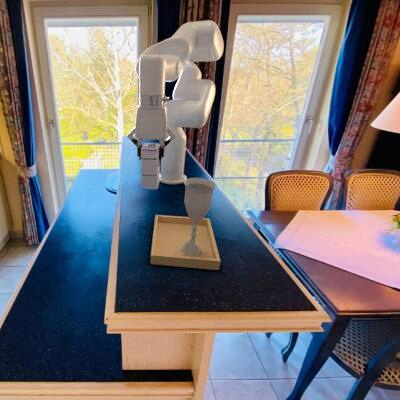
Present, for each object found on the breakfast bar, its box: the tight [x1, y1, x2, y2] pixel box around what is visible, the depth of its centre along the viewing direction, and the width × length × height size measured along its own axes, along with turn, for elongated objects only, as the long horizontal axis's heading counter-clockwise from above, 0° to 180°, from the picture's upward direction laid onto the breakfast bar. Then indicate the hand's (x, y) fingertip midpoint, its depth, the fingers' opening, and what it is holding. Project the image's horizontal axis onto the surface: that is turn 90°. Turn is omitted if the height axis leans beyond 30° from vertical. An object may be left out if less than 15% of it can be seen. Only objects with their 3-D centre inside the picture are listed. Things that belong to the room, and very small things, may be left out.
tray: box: [150, 214, 221, 271], centre depth 69 cm, size 20×16×3 cm
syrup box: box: [140, 142, 161, 190], centre depth 89 cm, size 6×6×14 cm
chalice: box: [182, 177, 217, 257], centre depth 62 cm, size 7×7×18 cm
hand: (150, 158), depth 88 cm, fingers closed on syrup box, 5 cm apart
